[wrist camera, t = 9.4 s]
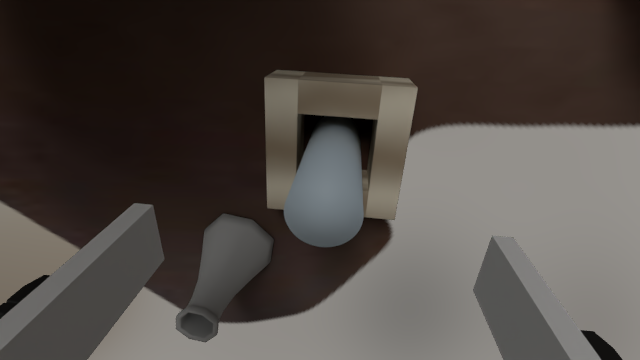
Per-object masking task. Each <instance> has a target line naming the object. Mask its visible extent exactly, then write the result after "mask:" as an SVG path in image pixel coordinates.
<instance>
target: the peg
mask: <svg viewBox="0 0 640 360" xmlns="http://www.w3.org/2000/svg"><path fill="white" fill-rule="evenodd" d="M363 216H364V212H363V189H362V165H361V142H360V132H359V129H358V127H357V125H356V124H355V123H354V122H353V120H351V119H350V118H348V117H336V116H325V117H324V118H322V119H321V120H319V121H318V122H317V124H316V125H315V127H314V129H313V132H312V134H311V137H310V139H309V142H308V145H307V147H306V150H305V152H304V155H303V157H302V160H301V163H300V165H299V168H298V170H297V173H296V176H295V178H294V181H293V183H292V186H291V189H290V191H289V194H288V196H287V199H286V202H285V205H284V217H285V221H286V223H287V225H288V227H289V229H290V230H291V232H292V233H293V234H294V235H295V236H296V237H298V238H299V239H300V240H302V241H304V242H305V243H308V244H310V245H313V246H318V247H334V246H338V245H341V244H344V243H346V242H348V241H349V240H351V239H352V238H353V237H354V236H355V235H356V234H357V233H358V231H359V230H360V228H361V226H362V223H363Z"/></svg>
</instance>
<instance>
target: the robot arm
mask: <svg viewBox="0 0 640 360" xmlns="http://www.w3.org/2000/svg"><path fill="white" fill-rule="evenodd" d="M163 260H164V255H163V250H162V245H161V241H160V236H159V231H158V226H157V222H156V217H155V212H154V208H153V205H149V204H137V203H134V204H133V205H132V206H131V207H129V208H128V209H127V210H126V211H125V212H124V213H122V214H121V215H120V216H119V217H118V218H117V219H115V220H114V221H113V222H112V223H111V224H110V225H109V226H107V227H106V228H105V229H104V230H103V231H102V232H100V233H99V234H98V235H97V236H96V237H95V238H93V239H92V240H91V241H90V242H89V243H88V244H87V245H85V246H84V247H83V248H82V249H81V250H80V251H78V252H77V253H76V254H75V255H74V256H73V257H72V258H70V259H69V260H68V261H67V262H66V263H65V264H63V265H62V266H61V267H60V268H59V269H58V270H57V271H55V272H54V273H53V274H52V275H51V276H49V275H43V276H42V277H40V278H38V279H36V280H34V281H33V282H31V283H29V284H27V285H25V286H24V287H22V288H21V289H20V290H19V291H17V292H16V293H15V294H14V295H13V296H11V297H10V298H9V299H8V300H7V302H6V303H3V304H2V305H0V360H87V359H88V358H89V357H90V355H91V354H92V353H93V351H94V350H95V349H96V348H97V346H98V345H99V344H100V342H101V341H102V340H103V338H104V337H105V336H106V335H107V333H108V332H109V331H110V329H111V328H112V327H113V325H114V324H115V323H116V322H117V320H118V319H119V317H120V316H121V315H122V314H123V312H124V311H125V310H126V309H127V307H128V306H129V305H130V303H131V302H132V301H133V299H134V298H135V297H136V296H137V294H138V293H139V292H140V290H141V289H142V288H143V286H144V285H145V284H146V283H147V281H148V280H149V279H150V277H151V276H152V275H153V273H154V272H155V271H156V270H157V268H158V267H159V266H160V264H161V263H162V262H163ZM473 291H474V293H475V296H476V298H477V300H478V302H479V305H480V307H481V309H482V312H483V314H484V316H485V319H486V321H487V323H488V325H489V328H490V330H491V332H492V335H493V337H494V339H495V341H496V344H497V346H498V348H499V351H500V353H501V355H502V357H503V359H504V360H622V358H621V357H620V356H619V355H618V353H617V352H616V351H615V349H614V348H613V347H611V346H610V345H609V344H608V343H607V342H605V341H604V340H603V339H602V338H601V337H599V336H598V335H597V334H596V333H595V332H593V331H582V330H580V329H579V328H578V327H577V325H576V324H575V322H574V321H573V320H572V318H571V317H570V316H569V314H568V313H567V311H566V310H565V309H564V307H563V306H562V304H561V303H560V302H559V300H558V299H557V298H556V296H555V295H554V293H553V292H552V291H551V289H550V288H549V286H548V285H547V284H546V282H545V281H544V279H543V278H542V277H541V275H540V274H539V273H538V271H537V270H536V268H535V267H534V266H533V264H532V263H531V262H530V260H529V259H528V257H527V256H526V254H525V253H524V252H523V250H522V249H521V248H520V246H519V245H518V243H517V242H516V241H515V239H514V238H513V237H501V236H492V238H491V241H490V243H489V246H488V249H487V252H486V255H485V258H484V261H483V263H482V266H481V269H480V272H479V275H478V277H477V280H476V283H475V286H474V289H473Z"/></svg>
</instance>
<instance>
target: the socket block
mask: <svg viewBox="0 0 640 360" xmlns="http://www.w3.org/2000/svg"><path fill="white" fill-rule="evenodd" d="M264 85H265V129H266V174H267V208H271V209H282V210H284V205H285V202H286V199H287V196H288V194H289V191H290V189H291V186H292V183H293V181H294V178H295V176H296V173H297V170H298V168H299V165H300V163H301V160H302V157H303V155H304V125H305V114H309V115H322V116H336V117H349V118H363V119H373V125H372V133H371V141H370V149H369V157H368V165H367V170H362V189H363V212H364V216H363V217H368V218H379V219H389V220H395V215H396V209H397V203H398V198H399V192H400V186H401V181H402V175H403V169H404V164H405V158H406V152H407V147H408V141H409V135H410V130H411V124H412V118H413V113H414V107H415V101H416V96H417V90H418V88H417V87H416V86H415V84H414V83H413V82H412V81H411V80H410V79H409V78H394V77H379V76H364V75H348V74H333V73H318V72H303V71H288V70H276V71H274V72H273V73H271V74H269V75H268V76H266V77H264Z"/></svg>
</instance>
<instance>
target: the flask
mask: <svg viewBox="0 0 640 360" xmlns="http://www.w3.org/2000/svg"><path fill="white" fill-rule="evenodd" d="M273 243H274V239H273V238H272V237H271V236H270V235H269V234H268V233H267V232H266V231H265V230H263V229H262V228H261V227H260V226H259V225H258V224H257V223H256V222H255V221H254V220H252V219H247V218H242V217H238V216H233V215H228V214H224V213H223V214H222V215H221V216H220V217H219V218H217V219H216V220H215V221H214V222H213V223H212V224H210V225H209V226H208V227H207V228H206V229H205V232H204V239H203V249H202V257H201V264H200V270H199V277H198V282H197V284H196V287H195V290H194V293H193V296H192V298H191V300H190V302H189V304H188V306H187V307H186V308H185V309H184V310H182V311H181V312H180V313H179V314H178V315H177V316H176V329H177V330H178V331H180V332H181V333H182V334H183V335H185V336H186V337H188V338H189V339H193V340H198V341H202V342H207V341H208V340H210V339H211V338H213V337H214V336H216V335H217V333H218V323H219V319H220V317H221V315H222V313H223V311H224V310H225V308H226V307H227V305H228V304H229V303H230V301H231V300H232V298H233V297H234V296H235V295H236V294H237V293H238V292H239V291H240V290H241V289H242V288H243V287H244V286H245V285H246V284H247V283H248V282H249V281H250V280H251V279H252V278H253V277H255V276H256V275H257V274H258V273H259V272H260V271H261V270H262V269H263V268H265V267H266V266H267V265H268V264H269V263H270V262H271V256H272V249H273Z"/></svg>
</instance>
